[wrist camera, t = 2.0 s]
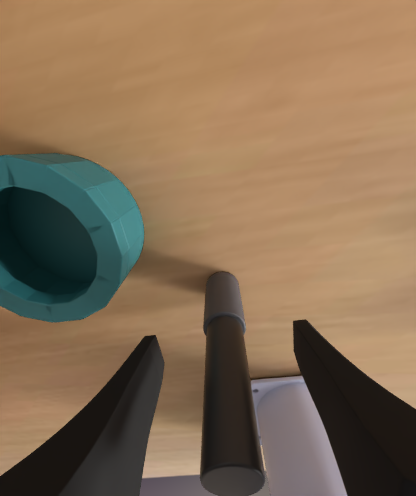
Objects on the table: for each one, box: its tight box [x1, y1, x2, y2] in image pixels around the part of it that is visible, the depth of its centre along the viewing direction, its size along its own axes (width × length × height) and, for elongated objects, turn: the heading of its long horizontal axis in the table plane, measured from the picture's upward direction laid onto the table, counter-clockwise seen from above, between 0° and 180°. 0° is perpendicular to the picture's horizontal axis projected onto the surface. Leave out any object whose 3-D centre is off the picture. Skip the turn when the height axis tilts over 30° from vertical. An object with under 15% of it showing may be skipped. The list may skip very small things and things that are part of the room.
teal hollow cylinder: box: [0, 153, 144, 322], centre depth 14 cm, size 9×9×4 cm
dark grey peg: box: [200, 272, 265, 496], centre depth 12 cm, size 2×2×11 cm
